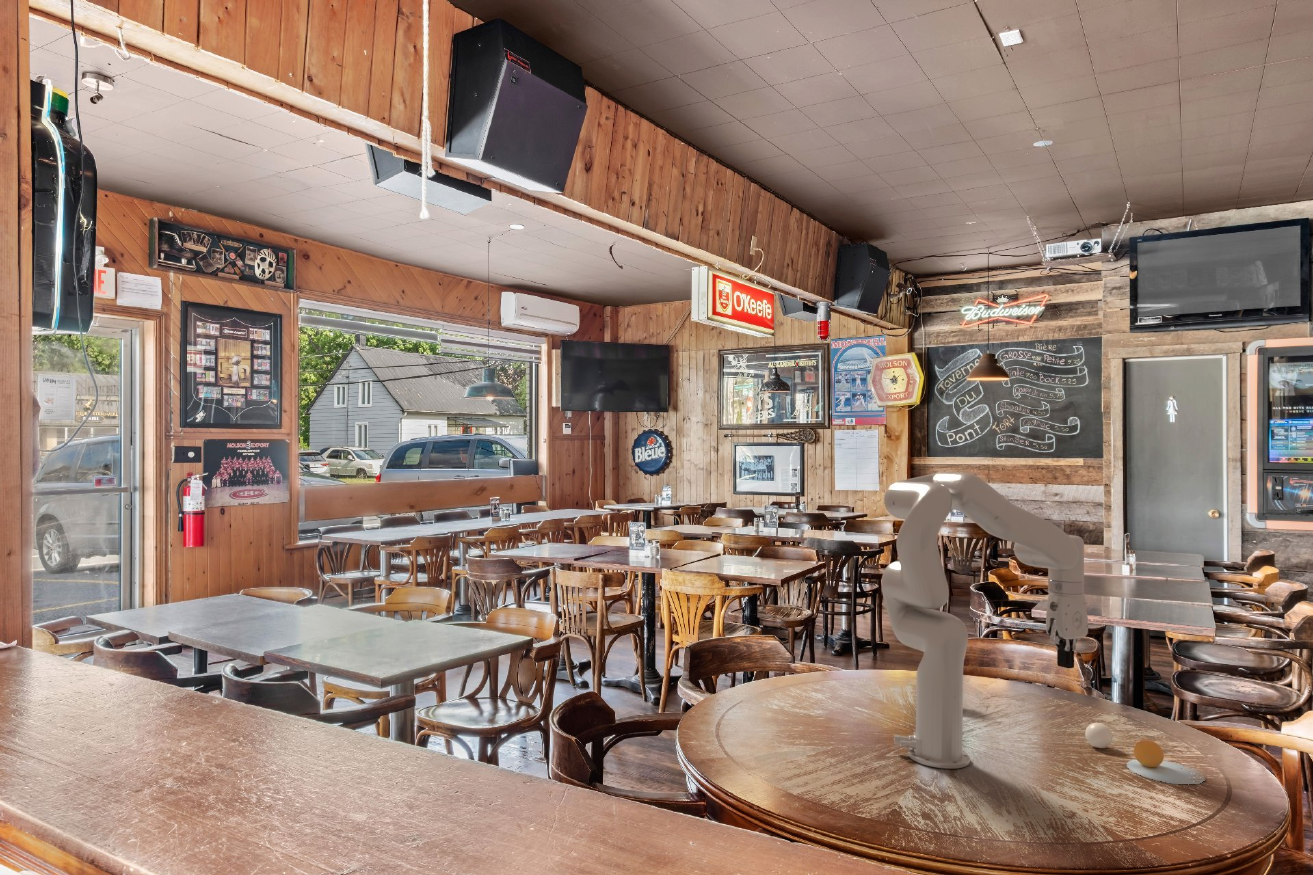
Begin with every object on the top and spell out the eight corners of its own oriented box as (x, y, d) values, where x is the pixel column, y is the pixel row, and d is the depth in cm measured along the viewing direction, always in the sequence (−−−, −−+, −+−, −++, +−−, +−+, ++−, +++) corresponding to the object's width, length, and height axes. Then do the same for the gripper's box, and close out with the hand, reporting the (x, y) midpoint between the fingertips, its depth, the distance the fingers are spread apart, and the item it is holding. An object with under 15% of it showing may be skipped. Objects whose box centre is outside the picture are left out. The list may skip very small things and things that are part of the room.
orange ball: (1134, 743, 174) (1144, 770, 172) (1161, 737, 173) (1172, 765, 171) (1126, 742, 179) (1136, 768, 177) (1152, 737, 178) (1162, 763, 176)
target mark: (1140, 780, 167) (1140, 779, 167) (1117, 756, 181) (1117, 756, 181) (1217, 788, 164) (1217, 787, 164) (1188, 763, 178) (1188, 762, 178)
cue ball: (1099, 719, 185) (1092, 743, 183) (1121, 730, 185) (1114, 753, 183) (1084, 717, 190) (1077, 740, 189) (1105, 727, 190) (1098, 750, 189)
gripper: (1062, 592, 185) (1062, 674, 184) (1099, 588, 193) (1099, 666, 192) (1031, 587, 191) (1031, 667, 191) (1069, 583, 199) (1068, 659, 199)
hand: (1065, 666), depth 191 cm, fingers closed
